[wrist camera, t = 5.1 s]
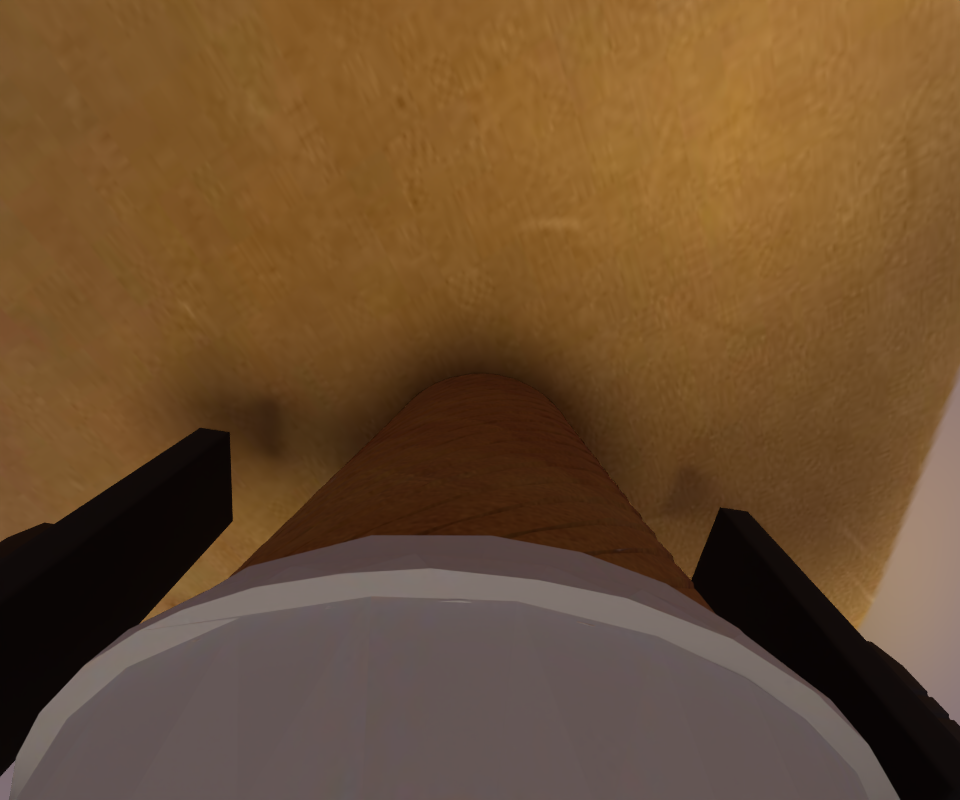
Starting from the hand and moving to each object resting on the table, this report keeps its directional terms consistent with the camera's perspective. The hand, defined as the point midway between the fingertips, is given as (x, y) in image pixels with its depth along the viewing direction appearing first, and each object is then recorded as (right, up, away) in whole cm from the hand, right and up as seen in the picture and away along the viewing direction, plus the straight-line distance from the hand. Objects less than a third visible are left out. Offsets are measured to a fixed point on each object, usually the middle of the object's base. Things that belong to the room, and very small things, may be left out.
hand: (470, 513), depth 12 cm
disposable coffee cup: (0, +1, +3) cm, 3 cm away
